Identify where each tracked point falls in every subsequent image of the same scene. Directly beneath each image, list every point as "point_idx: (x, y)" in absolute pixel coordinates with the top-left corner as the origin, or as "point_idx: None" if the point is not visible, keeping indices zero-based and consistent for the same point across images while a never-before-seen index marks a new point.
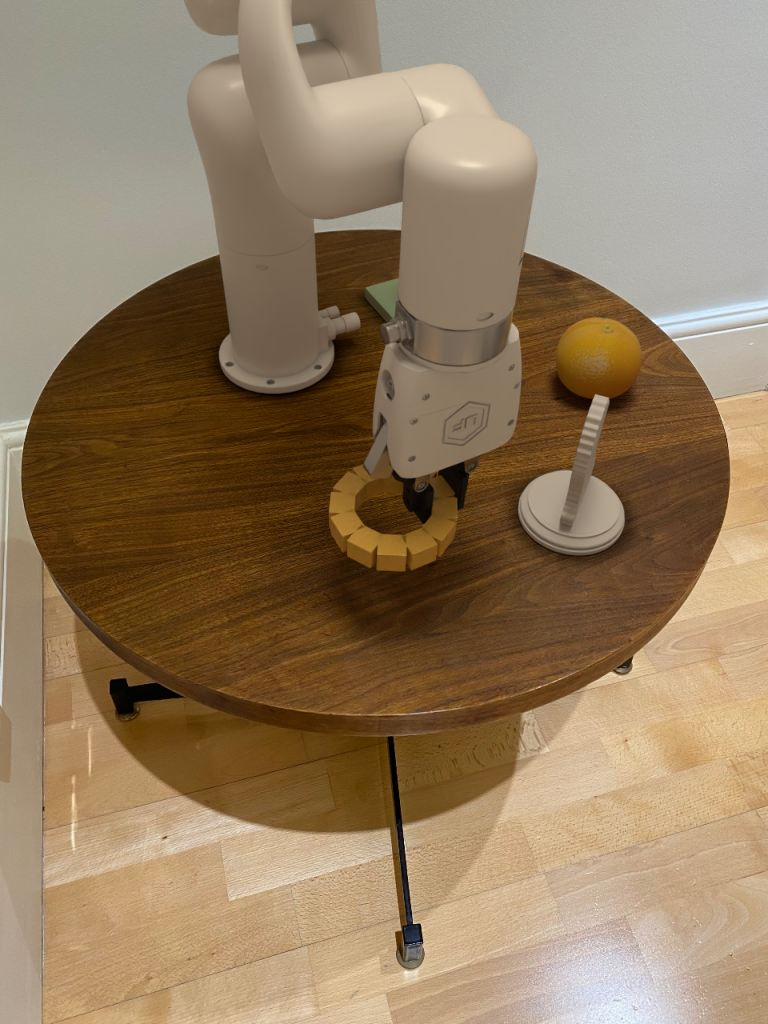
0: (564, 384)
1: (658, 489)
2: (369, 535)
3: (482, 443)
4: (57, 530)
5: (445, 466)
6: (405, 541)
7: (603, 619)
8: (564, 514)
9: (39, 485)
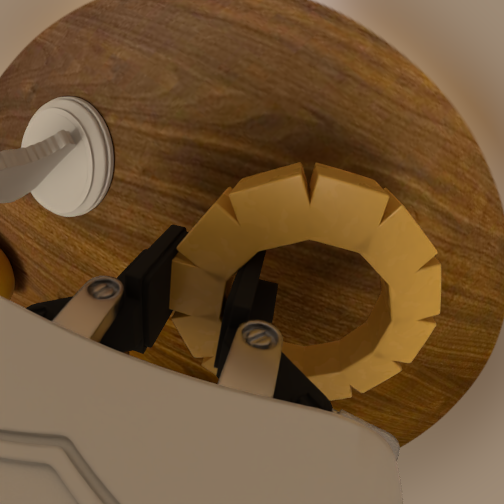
0: (12, 279)
1: (2, 137)
2: (407, 297)
3: (3, 359)
4: (439, 413)
5: (191, 388)
6: (371, 236)
7: (130, 16)
8: (62, 143)
9: (412, 437)
